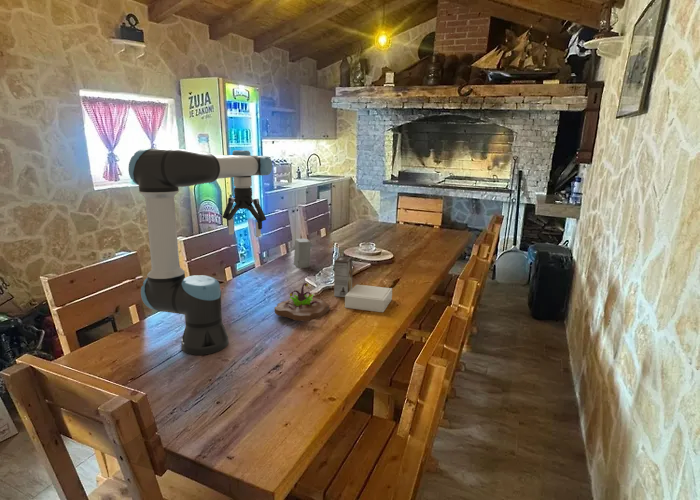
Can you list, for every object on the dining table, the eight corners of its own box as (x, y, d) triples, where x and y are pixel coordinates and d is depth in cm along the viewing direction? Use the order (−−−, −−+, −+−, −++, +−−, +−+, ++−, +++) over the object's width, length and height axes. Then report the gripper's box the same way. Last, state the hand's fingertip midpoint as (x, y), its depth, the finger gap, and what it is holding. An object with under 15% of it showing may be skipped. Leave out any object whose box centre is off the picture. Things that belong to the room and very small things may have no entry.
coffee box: (338, 290, 193) (339, 255, 189) (352, 291, 192) (353, 256, 188) (333, 296, 184) (334, 260, 180) (348, 297, 183) (348, 261, 179)
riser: (383, 312, 167) (383, 299, 165) (344, 307, 171) (345, 295, 170) (391, 299, 181) (392, 287, 180) (356, 295, 186) (356, 283, 185)
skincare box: (293, 267, 230) (293, 238, 226) (305, 265, 233) (305, 237, 229) (298, 271, 222) (298, 241, 219) (311, 269, 225) (311, 240, 222)
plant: (337, 309, 170) (338, 282, 168) (306, 324, 155) (306, 295, 152) (300, 299, 181) (299, 273, 179) (267, 312, 165) (266, 285, 163)
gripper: (273, 187, 182) (274, 235, 186) (222, 185, 189) (225, 231, 194) (264, 188, 175) (266, 239, 179) (212, 186, 182) (215, 234, 187)
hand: (244, 235), depth 187 cm, fingers open, 13 cm apart
